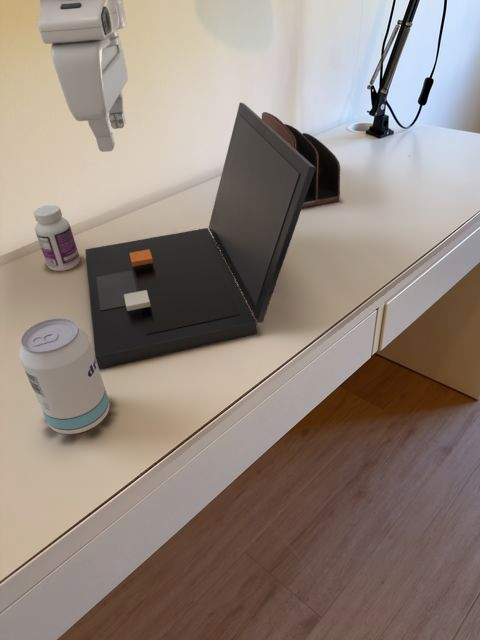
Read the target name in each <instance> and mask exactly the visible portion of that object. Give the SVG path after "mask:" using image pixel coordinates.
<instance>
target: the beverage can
mask: <svg viewBox="0 0 480 640" xmlns="http://www.w3.org/2000/svg"><path fill="white" fill-rule="evenodd" d="M20 343H21V347H20V349H19V355H18V356H19V360H20V363H21V365H22V368H23V370H24V372H25V374H26V376H27V379H28V382H29V384H30V386H31V388H32V390H33V393H34V395H35V397H36V400H37V403H38V404H39V406H40V409H41V411H42V413H43V416H44V418H45V420H46V422H47V424H48V426H49V428H50V429H51V430H53V431H54V432H57V433H59V434H64V435H76V434H81V433H84V432H86V431H89V430H91V429H93V428H95V427H96V426H97V425H99V424H100V423H102V422H103V420H104V419H105V418H107V417H106V416H107V415H108V413H109V411H110V408H111V407H110V404H111V403H110V400H109V396H108V393H107V391H106V387H105V383H104V381H103V377H102V375H101V372H100V369H99V367H98V364H97V361H96V358H95V352H94V350H93V347H92V344H91V341H90V338H89V335H88V334H87V333H86V332H85V331H84V330H83V329H81V328H80V327H79V326H78V324H77V323H76V322H75V321H74V320H72V319H69V318H65V317H55V318H54V317H53V318H49V319H44V320H42V321H39V322H37V323H35V324H33V325H31V326H30V327H28V328H27V329H26V330H25V331H24V332H23V334H22V335H21V337H20Z"/></svg>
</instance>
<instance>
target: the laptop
mask: <svg viewBox="0 0 480 640" xmlns="http://www.w3.org/2000/svg"><path fill="white" fill-rule="evenodd" d="M148 249H150V252H151V256H152V259H153V263H149V264H144V265H138V266H132V262H131V258H130V254H129V253H131V252H137V251H143V250H148ZM85 259H86V271H87V281H88V282H87V283H88V292H89V302H90V314H91V324H92V335H93V346H94V356H95V359H96V362H97V365H98V368H99V370H101V369H104V368H105V369H106V368H109V367H113V366H119V365H124V364H127V363H132V362H138V361H142V360H145V359H151V358H154V357H159V356H164V355H168V354H174V353H177V352H183V351H187V350H191V349H196V348H200V347H205V346H209V345H214V344H218V343H222V342H226V341H227V342H228V341H233V340H237V339H241V338H245V337H249V336H254V335H257V334H258V327H257V326H258V325H257V323H258V322H257V320H256V318H255V316H254V315H253V313H252V311H251V309H250V307H249V305H248V303H247V301H246V299H245V297H244V295H243V293H242V291H241V289H240V288H239V286H238V284H237V282H236V280H235V278H234V276H233V274H232V272H231V270H230V268H229V266H228V264H227V263H226V261H225V259H224V257H223V255H222V253H221V251H220V249H219V247H218V245H217V243H216V241H215V239H214V237H213V236H212V234H211V232H210V230H209V228H208V227H205V228H200V229H193V230H188V231H183V232H176V233H171V234H165V235H160V236H159V235H158V236H153V237H148V238H141V239H137V240H136V239H135V240H130V241H126V242H120V243H113V244H107V245H101V246H96V247H91V248H86V249H85ZM144 290H147V293H148V297H149V301H150V305H151V306H150V307H145V308H140V309H135V310H131V311H127V308H126V303H125V298H124V294H129V293H134V292H139V291H144Z"/></svg>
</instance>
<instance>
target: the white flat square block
mask: <svg viewBox="0 0 480 640" xmlns="http://www.w3.org/2000/svg"><path fill="white" fill-rule="evenodd" d="M124 298H125V303H126V308H127V311H131V310H135V309H140V308H145V307H150V306H151V305H150V301H149V297H148V293H147V290H144V291H139V292H134V293H129V294H124Z"/></svg>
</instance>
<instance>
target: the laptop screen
mask: <svg viewBox="0 0 480 640" xmlns="http://www.w3.org/2000/svg"><path fill="white" fill-rule="evenodd" d="M315 169H316V167H314V166H313V165H312V164H311V163H310V162H309V161H308V160H307V159H305V158H304V157H303V156H302V155H301V154H300V153H299V152H298V151H297V150H295V149H294V148H293V147H292V146H291V145H290V144H289V143H288V142H287V141H285V140H284V139H283V138H282V137H281V136H280V135H279V134H278V133H277V132H275V131H274V130H273V129H272V128H271V127H270V126H269V125H268V124H267V123H265V122H264V121H263V120H262V117H260V116H259V115H258V114H257V113H255V112H254V110H252V109H251V108H250V107H249V106H248V105H247V104H246V103H244V102H239V104H238V108H237V111H236V116H235V120H234V124H233V128H232V132H231V135H230V140H229V144H228V148H227V151H226V156H225V160H224V163H223V168H222V171H221V176H220V180H219V184H218V188H217V192H216V196H215V200H214V203H213V207H212V212H211V214H210V215H211V216H210V219H209V224H208V227H207V228H208V230H209V231H210V233H211V235H212V237H213V239H214V241H215V243H216V245H217V247H218V249H219V251H220V253H221V255H222V257H223V259H224V261H225V262H226V264H227V266H228V268H229V270H230V272H231V274H232V276H233V278H234V280H235V282H236V284H237V286H238V288H239V290H240V292H241V293H242V295H243V297H244V299H245V301H246V303H247V305H248V307H249V309H250V311H251V313H252V315H253V317H254V319H255V321H256V323H264V320H265V317H266V314H267V311H268V308H269V305H270V302H271V300H272V297H273V294H274V290H275V288H276V285H277V282H278V279H279V276H280V273H281V271H282V267H283V264H284V261H285V259H286V255H287V253H288V250H289V247H290V244H291V241H292V238H293V235H294V233H295V229H296V226H297V223H298V221H299V218H300V215H301V212H302V209H303V208H302V207H303V204H304V201H305V198H306V195H307V192H308V189H309V186H310V183H311V180H312V177H313V175H314V172H315Z"/></svg>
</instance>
